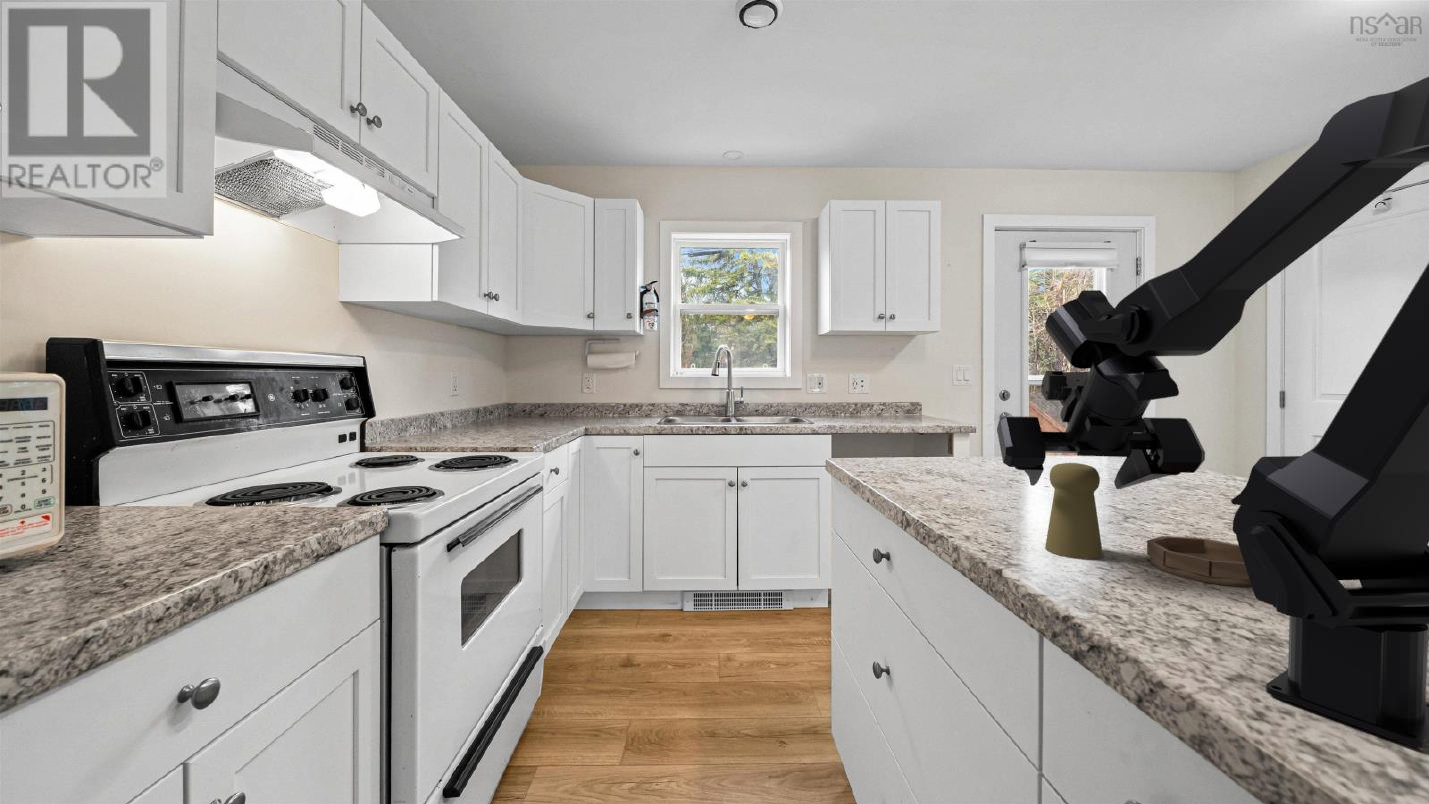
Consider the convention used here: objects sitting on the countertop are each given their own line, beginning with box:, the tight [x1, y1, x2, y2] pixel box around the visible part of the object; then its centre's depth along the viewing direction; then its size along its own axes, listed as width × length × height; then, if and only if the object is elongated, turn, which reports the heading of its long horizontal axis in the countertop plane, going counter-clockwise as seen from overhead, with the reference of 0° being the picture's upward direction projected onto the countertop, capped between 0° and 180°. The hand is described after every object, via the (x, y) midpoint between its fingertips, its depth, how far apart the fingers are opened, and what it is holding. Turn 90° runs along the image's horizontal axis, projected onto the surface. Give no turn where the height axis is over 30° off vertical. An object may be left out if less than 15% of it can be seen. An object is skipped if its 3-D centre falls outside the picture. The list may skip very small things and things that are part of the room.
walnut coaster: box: [1146, 535, 1252, 588], centre depth 59 cm, size 10×10×2 cm
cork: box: [1044, 462, 1104, 560], centre depth 66 cm, size 6×6×11 cm
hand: (1073, 484), depth 66 cm, fingers open, 9 cm apart
